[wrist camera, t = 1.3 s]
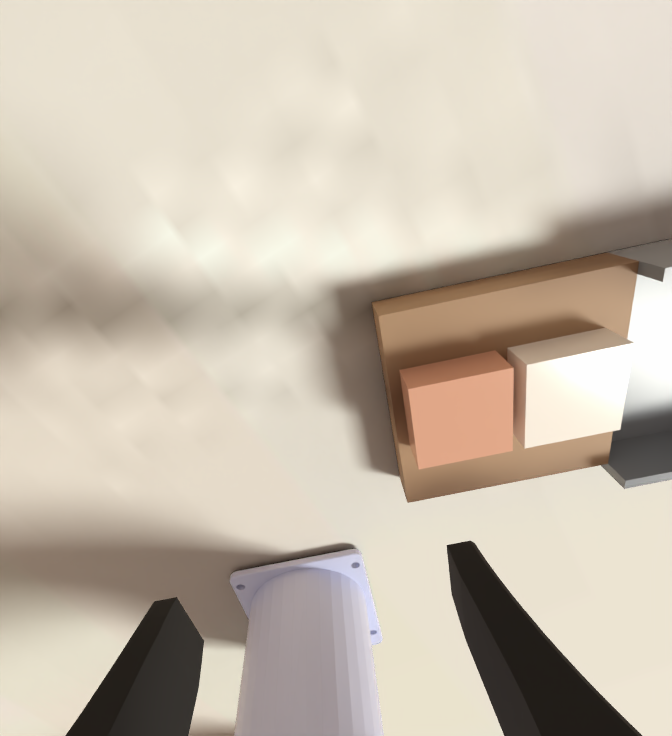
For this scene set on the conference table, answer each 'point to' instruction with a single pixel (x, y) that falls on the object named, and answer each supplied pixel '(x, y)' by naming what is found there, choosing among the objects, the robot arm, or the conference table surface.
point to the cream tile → (569, 386)
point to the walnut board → (498, 332)
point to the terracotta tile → (459, 408)
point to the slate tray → (647, 374)
